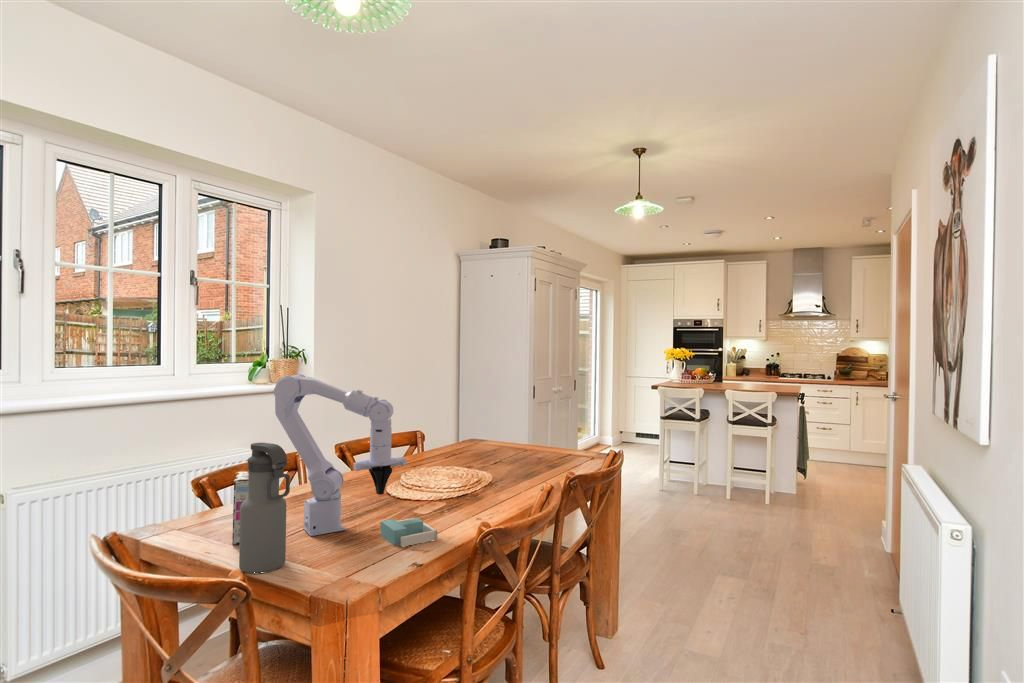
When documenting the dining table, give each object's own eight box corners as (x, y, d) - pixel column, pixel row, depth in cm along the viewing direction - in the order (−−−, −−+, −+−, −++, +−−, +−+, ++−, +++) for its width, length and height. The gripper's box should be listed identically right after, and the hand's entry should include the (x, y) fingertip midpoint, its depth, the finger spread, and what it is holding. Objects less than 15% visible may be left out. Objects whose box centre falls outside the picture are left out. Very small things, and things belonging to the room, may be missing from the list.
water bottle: (296, 562, 133) (297, 443, 133) (262, 578, 124) (264, 450, 124) (263, 555, 137) (265, 439, 137) (229, 570, 128) (231, 446, 128)
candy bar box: (253, 543, 145) (254, 479, 145) (231, 545, 143) (232, 480, 143) (256, 529, 156) (257, 469, 156) (236, 531, 154) (237, 471, 154)
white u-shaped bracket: (401, 547, 144) (401, 537, 144) (381, 532, 154) (382, 523, 154) (437, 540, 149) (437, 530, 149) (415, 526, 160) (415, 517, 160)
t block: (393, 546, 145) (394, 530, 145) (380, 536, 152) (380, 521, 152) (427, 539, 150) (427, 524, 150) (413, 529, 157) (413, 515, 157)
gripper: (360, 449, 150) (359, 501, 150) (411, 444, 158) (410, 493, 158) (351, 445, 155) (350, 494, 155) (400, 440, 164) (400, 487, 164)
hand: (380, 493), depth 157 cm, fingers closed
